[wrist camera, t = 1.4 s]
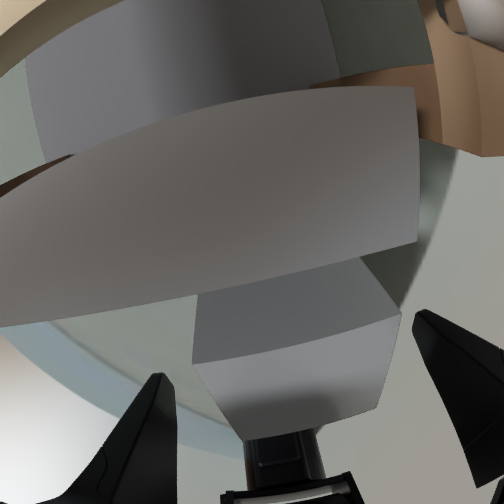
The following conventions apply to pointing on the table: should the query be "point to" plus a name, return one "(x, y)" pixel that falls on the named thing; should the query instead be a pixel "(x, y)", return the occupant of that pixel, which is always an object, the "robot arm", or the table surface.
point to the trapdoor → (203, 192)
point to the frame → (438, 80)
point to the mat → (171, 64)
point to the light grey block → (296, 348)
